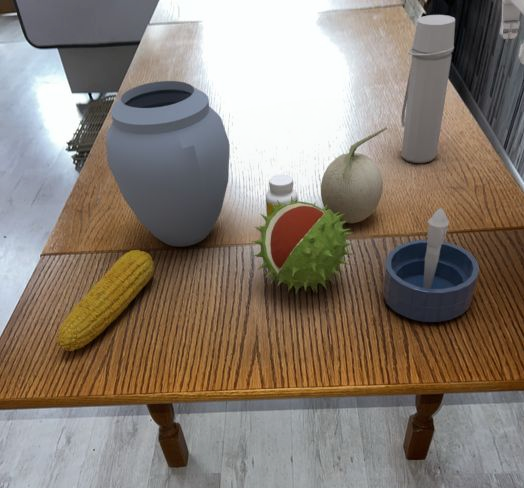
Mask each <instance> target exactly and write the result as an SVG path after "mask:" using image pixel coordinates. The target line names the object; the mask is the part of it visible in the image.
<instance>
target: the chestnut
mask: <svg viewBox="0 0 524 488" xmlns="http://www.w3.org/2000/svg"><path fill="white" fill-rule="evenodd" d="M277 202H278V205H279V208H276V207H275V206H273V204H272V203H271V205H272V208H273V214H272V215H269V214H268V215H269V216H270V217H267V215H265V214H262V213H260V216H261V217H262V218H263V219H264V221H265V223H264V225H258V227H257V226H254V228H255V229H257V230H258V231H259V232H260V233H261V236H260V239H258V240H253V241H251V243H254V244H257V245H260V251H259V252H258V253H257V254H254V255H253V257H256V258H262V260H263V263H262V264H261V265H260V266H259V267H258V268H257V270H261V269H264V268H266V269H267V271H266V273H265V274H267V275H266V276H265V278H268V277H270V276H272V278H271V280H270V282H269V284H270V285H271V284H272V283H273V282H274V281H275V280H278V283H277V287H279V286H280V285H281V283H283V284H285V285H287V293H290V290H291V289H292V287H294V289H295V290H294V291H295V295H296V296H298V292H299V289H300V288H302V287H303V288H304V291H305V292H307V288H308V287H309V286H310V288H311V289H312V292H314V293H316V294H317V293H318V285H319V284H320V285H322V286H323V287H324V289H327V286H326V283H325V282H326V280H328V281H329V282H330V283H332V284H333V285H335V283H334V280H333V278H332V277H333V274H335V275H337V276H339V277H340V274H339V273H338V272H340V273H341V274H344V272H343V270H341V268H340V264H341V265H343V264H344V265H350V263H348V262H347V261H346V260H344V259H343V257H344V256H346V255H347V256H351V255H352V256H353V255H354V254H353V253H352V252H349V251H347V250H346V247H349V246H354V244H353V243H350V242H347V241H346V238H347V237H348V236H349V235H351V234H353V232H348V231H350V230H351V228H343V225H344V224H346V223H345V222H347V221H348V220H346V221H343V222H341V221H340V218H341V217H342V216H343V215H344V214H345V213H344V214H341V215H339V216H337V214H338V213H339V212H338V213H336V214H334V213H333V212H332V211H331V210H330V209H328V210H327V211H326V208H327V205H326V206H325V207H324V206H323V208H321V207H319V206H317V205H316V204H317V203H316V201H315V202H314V203H312V202H307V201H301V200H300V201H299V200H298V201H297V202H294V201H293V199H292V196H291V203H288V204H285V205H281V203H280V202H279V201H278V200H277Z"/></svg>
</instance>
